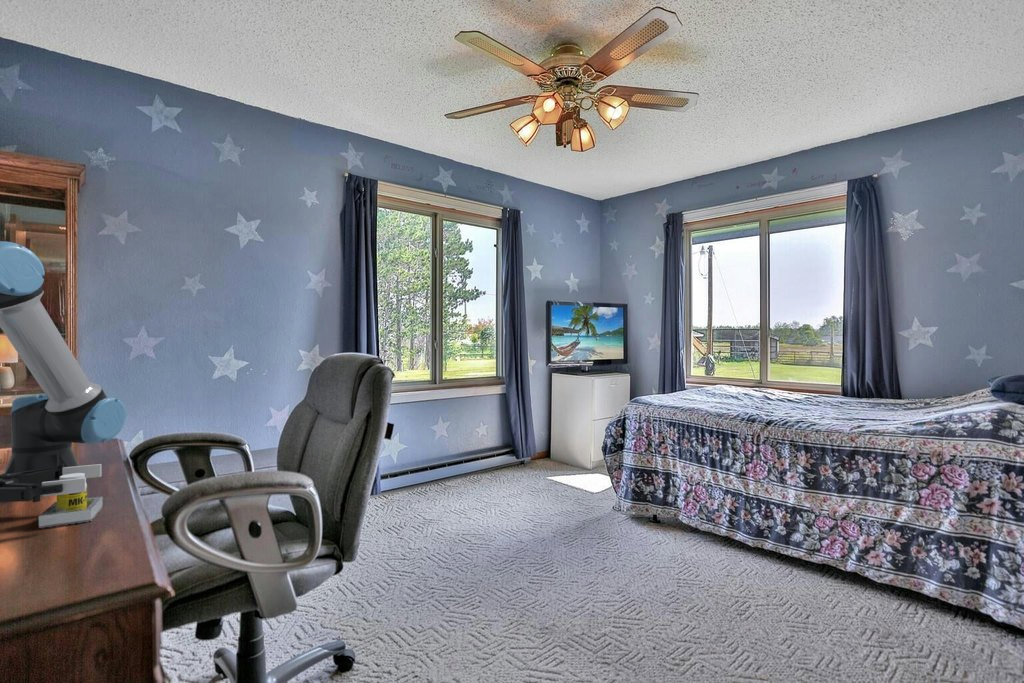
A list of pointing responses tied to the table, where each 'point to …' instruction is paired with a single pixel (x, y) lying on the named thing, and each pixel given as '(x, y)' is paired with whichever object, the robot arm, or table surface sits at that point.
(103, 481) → the table surface
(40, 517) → the rectangular metal tray
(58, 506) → the supplement bottle
